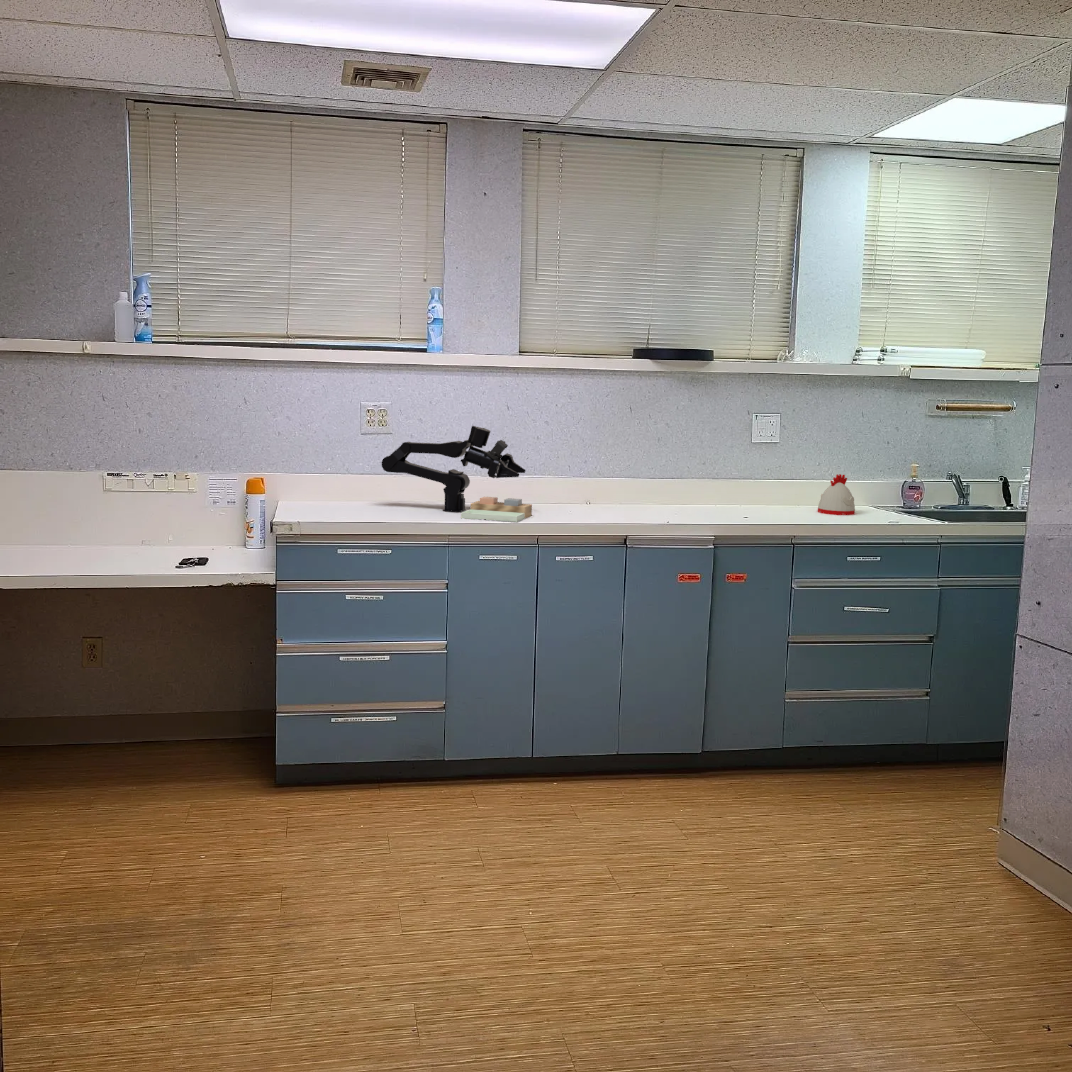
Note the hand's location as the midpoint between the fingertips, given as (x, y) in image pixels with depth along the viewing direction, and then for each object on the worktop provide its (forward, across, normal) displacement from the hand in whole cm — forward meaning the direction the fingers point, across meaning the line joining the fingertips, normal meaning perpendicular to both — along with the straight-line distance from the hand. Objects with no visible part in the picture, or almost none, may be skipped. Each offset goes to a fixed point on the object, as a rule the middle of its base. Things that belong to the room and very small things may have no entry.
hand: (522, 473), depth 380 cm
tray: (-2, -14, +15) cm, 21 cm away
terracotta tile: (-7, -5, +13) cm, 16 cm away
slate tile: (+1, -5, +11) cm, 12 cm away
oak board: (-2, -4, +16) cm, 16 cm away
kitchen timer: (+112, +60, -14) cm, 128 cm away
